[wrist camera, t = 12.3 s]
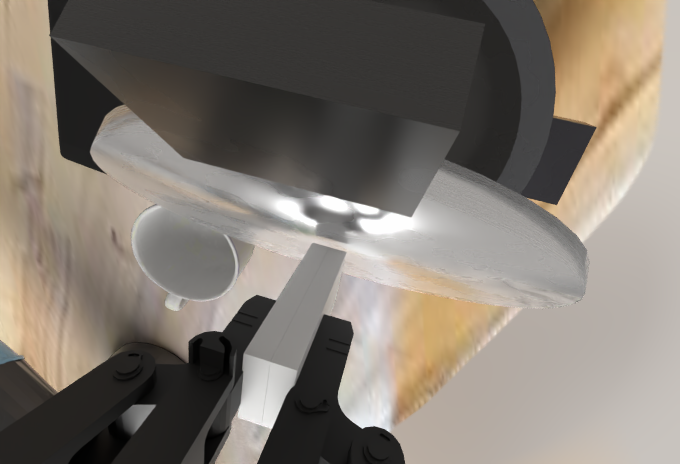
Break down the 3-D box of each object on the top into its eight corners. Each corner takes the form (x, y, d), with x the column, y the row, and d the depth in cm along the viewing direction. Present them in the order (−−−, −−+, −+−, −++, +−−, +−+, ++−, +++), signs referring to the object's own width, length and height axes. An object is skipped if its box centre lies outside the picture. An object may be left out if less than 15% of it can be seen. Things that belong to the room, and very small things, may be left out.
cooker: (249, 189, 39) (190, 232, 29) (269, -70, 29) (189, -136, 19) (483, 251, 36) (504, 321, 26) (596, -9, 26) (698, -49, 16)
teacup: (202, 157, 38) (152, 179, 31) (285, 219, 40) (254, 254, 32) (157, 244, 45) (107, 279, 38) (230, 295, 46) (194, 339, 39)
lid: (219, 225, 28) (213, 243, 28) (-344, -149, 5) (-414, -72, 5) (477, 297, 26) (473, 317, 26) (1282, 175, 3) (1329, 333, 3)
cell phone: (139, 5, 34) (132, 3, 33) (135, 180, 42) (129, 183, 41) (54, -25, 34) (44, -27, 33) (67, 155, 42) (60, 157, 42)
